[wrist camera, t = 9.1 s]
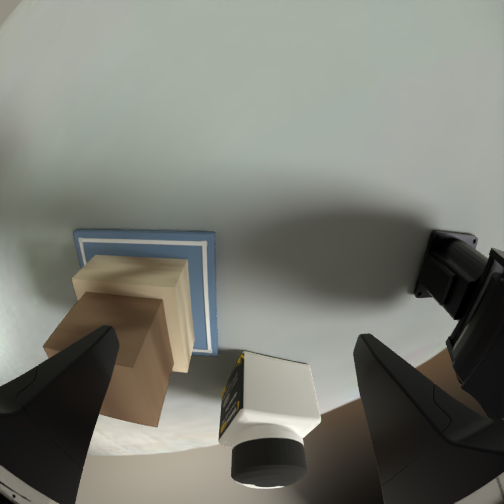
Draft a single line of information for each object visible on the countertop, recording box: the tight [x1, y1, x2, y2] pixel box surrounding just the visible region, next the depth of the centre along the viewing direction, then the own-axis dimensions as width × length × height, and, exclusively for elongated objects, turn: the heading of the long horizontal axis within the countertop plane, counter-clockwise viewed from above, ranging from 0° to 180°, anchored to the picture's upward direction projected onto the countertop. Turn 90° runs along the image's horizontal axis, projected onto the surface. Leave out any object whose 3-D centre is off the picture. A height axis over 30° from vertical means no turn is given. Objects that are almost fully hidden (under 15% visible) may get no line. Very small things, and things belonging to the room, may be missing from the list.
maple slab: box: [72, 255, 195, 373], centre depth 20 cm, size 8×8×4 cm
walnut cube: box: [43, 291, 174, 427], centre depth 15 cm, size 6×6×6 cm
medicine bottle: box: [219, 351, 321, 489], centre depth 21 cm, size 7×7×12 cm
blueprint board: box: [73, 230, 218, 357], centre depth 22 cm, size 12×12×1 cm
